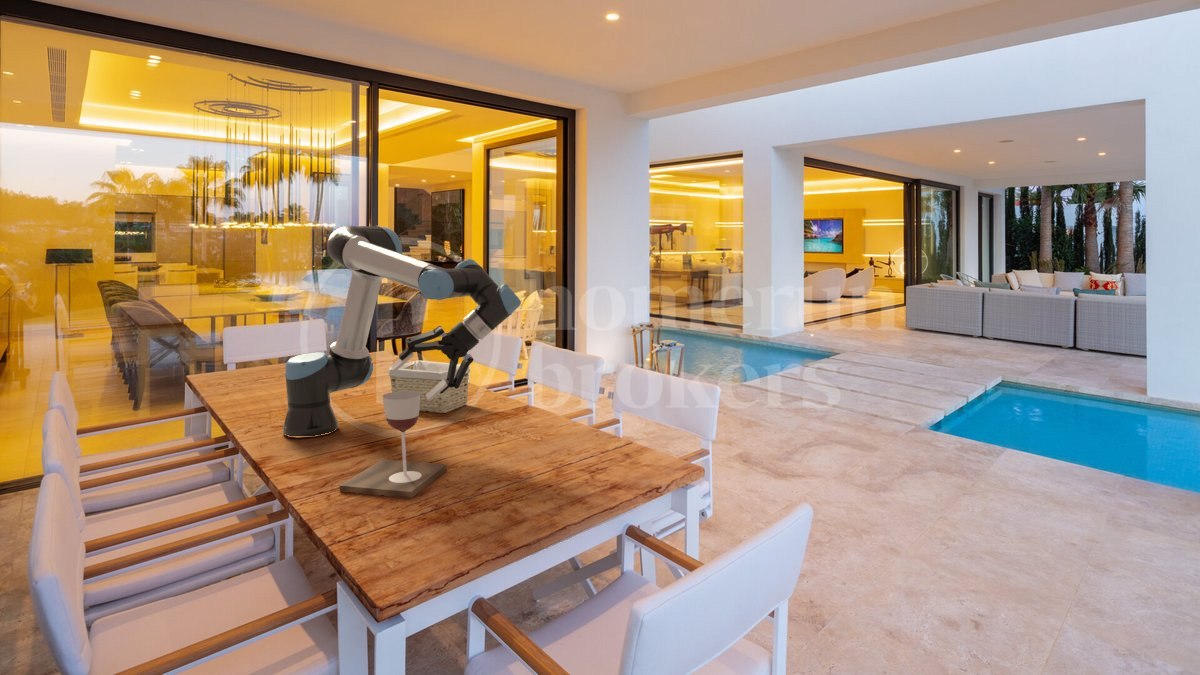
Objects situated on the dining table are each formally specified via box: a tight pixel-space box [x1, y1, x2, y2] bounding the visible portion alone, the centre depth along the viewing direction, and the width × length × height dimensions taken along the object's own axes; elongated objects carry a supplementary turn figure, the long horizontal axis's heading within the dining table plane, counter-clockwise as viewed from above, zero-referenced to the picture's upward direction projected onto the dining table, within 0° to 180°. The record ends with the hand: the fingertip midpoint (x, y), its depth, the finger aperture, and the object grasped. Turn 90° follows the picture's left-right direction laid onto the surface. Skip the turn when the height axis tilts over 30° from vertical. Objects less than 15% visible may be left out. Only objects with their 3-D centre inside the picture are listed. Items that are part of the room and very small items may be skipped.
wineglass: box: [382, 391, 422, 483], centre depth 148 cm, size 8×9×20 cm
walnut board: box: [339, 458, 448, 499], centre depth 151 cm, size 18×18×2 cm
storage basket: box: [387, 359, 471, 414], centre depth 219 cm, size 24×16×15 cm
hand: (410, 384), depth 166 cm, fingers open, 13 cm apart
